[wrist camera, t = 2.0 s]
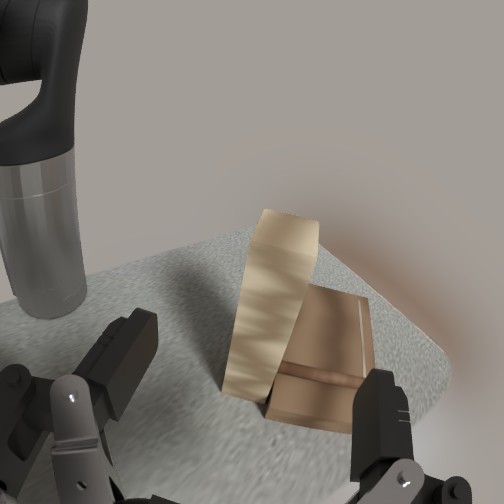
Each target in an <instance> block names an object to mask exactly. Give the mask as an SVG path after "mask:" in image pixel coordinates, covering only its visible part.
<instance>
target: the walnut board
mask: <svg viewBox="0 0 504 504" xmlns="http://www.w3.org/2000/svg"><path fill="white" fill-rule="evenodd" d="M282 360H283V361H287V362H292V363H296V364H300V365H305V366H309V367H314V368H318V369H323V370H328V371H333V372H338V373H343V374H348V375H353V376H359V377H364V378H366V377H367V375H368V374H369V372H370V371H371V369H373V368H375V358H374V348H373V338H372V329H371V320H370V312H369V305H368V298H365V297H361V296H357V295H353V294H349V293H345V292H341V291H337V290H333V289H329V288H325V287H321V286H317V285H313V284H308V287H307V290H306V293H305V296H304V299H303V302H302V305H301V308H300V311H299V313H298V316H297V319H296V322H295V325H294V328H293V330H292V333H291V336H290V339H289V341H288V344H287V347H286V349H285V352H284V355H283V358H282ZM357 390H358V389H353V388H348V387H342V386H337V385H332V384H327V383H322V382H317V381H312V380H307V379H303V378H298V377H294V376H289V375H285V374H281V373H276V376H275V379H274V381H273V384H272V387H271V391H270V396H269V401H268V405H267V410H266V414H265V418H266V419H270V420H275V421H279V422H284V423H289V424H294V425H299V426H304V427H309V428H315V429H320V430H327V431H333V432H339V433H346V434H352V406H353V400H354V396H355V394H356V392H357Z"/></svg>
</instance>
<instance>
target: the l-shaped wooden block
mask: <svg viewBox="0 0 504 504" xmlns="http://www.w3.org/2000/svg"><path fill="white" fill-rule="evenodd" d="M318 236H319V222H318V221H314V220H310V219H306V218H302V217H298V216H294V215H290V214H286V213H282V212H278V211H274V210H270V209H266V208H265V209H264V211H263V213H262V216H261V218H260V220H259V223H258V225H257V227H256V229H255V231H254V234H253V236H252V238H251V240H250V245H249V251H248V256H247V261H246V266H245V271H244V277H243V282H242V287H241V292H240V298H239V303H238V308H237V313H236V319H235V324H234V329H233V334H232V340H231V345H230V350H229V356H228V361H227V366H226V371H225V377H224V382H223V387H222V393H224V394H227V395H231V396H234V397H238V398H242V399H245V400H249V401H253V402H257V403H261V404H265V401H266V399H267V396H268V394H269V391H270V389H271V386H272V384H273V381H274V379H275V376H276V373H281V374H285V375H289V376H294V377H298V378H303V379H307V380H312V381H317V382H322V383H327V384H332V385H337V386H342V387H348V388H353V389H359V387H360V386H361V384H362V383H363V381H364V380H365V378H364V377H359V376H353V375H348V374H343V373H338V372H333V371H328V370H323V369H318V368H314V367H309V366H305V365H300V364H296V363H292V362H287V361H283V360H282V358H283V355H284V352H285V349H286V347H287V344H288V341H289V339H290V336H291V333H292V330H293V328H294V325H295V322H296V319H297V316H298V313H299V311H300V308H301V305H302V302H303V299H304V296H305V293H306V290H307V287H308V284H309V281H310V278H311V275H312V272H313V269H314V266H315V263H316V260H317V255H318Z"/></svg>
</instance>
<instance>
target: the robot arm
mask: <svg viewBox="0 0 504 504" xmlns="http://www.w3.org/2000/svg"><path fill="white" fill-rule="evenodd" d="M87 12H88V0H0V85H7V84H13V83H19V82H26V81H34V80H42V84H41V88H40V92H39V94H38V96H37V97H36V98H35V100H34V101H33V102H32V103H31V104H29V105H28V106H27V107H26V108H24V109H23V110H22V111H20V112H19V113H17V114H15V115H14V116H12V117H10V118H8V119H6V120H4V121H2V122H1V123H0V250H1V254H2V257H3V261H4V265H5V269H6V272H7V275H8V279H9V282H10V285H11V288H12V291H13V295H15V296H16V297H17V298H18V301H19V304H20V306H21V308H22V310H24V311H25V312H26V313H27V314H29V315H30V316H33V317H36V318H42V319H50V318H56V317H60V316H63V315H65V314H68V313H70V312H71V311H73V310H74V309H76V308H77V307H78V306H79V305H80V304H81V303H82V301H83V300H84V298H85V296H86V294H87V284H86V278H85V271H84V265H83V257H82V249H81V241H80V232H79V222H78V211H77V199H76V182H75V157H74V113H75V93H76V81H77V74H78V66H79V60H80V54H81V49H82V43H83V38H84V33H85V27H86V21H87ZM157 348H158V321H157V314H156V313H153V312H150V311H147V310H144V309H141V308H136V309H135V310H134V311H133V312H132V314H131V315H130V316H129V318H128V319H127V318H124V317H120V318H118V319H116V320H115V321H113V322H112V323H110V324H109V325H108V327H107V328H106V329H105V331H104V332H103V333H102V335H101V336H100V337H99V338H98V340H97V342H96V343H95V344H94V345H93V346H92V348H91V349H90V351H89V352H88V353H87V355H86V356H85V357H84V359H83V360H82V361H81V363H80V364H79V366H78V367H77V368H76V370H75V371H74V372H73V373H72V374H69V375H63V376H61V377H59V378H57V379H56V380H50V379H44V378H39V377H34V376H31V374H30V372H29V370H28V369H27V368H26V367H25V366H23V365H20V364H12V365H9V366H7V367H5V368H4V369H3V370H2V371H1V372H0V504H19V503H18V502H17V500H16V498H17V496H18V494H19V492H20V490H21V487H22V485H23V483H24V481H25V479H26V477H27V475H28V473H29V471H30V469H31V467H32V465H33V463H34V461H35V459H36V457H37V455H38V453H39V451H40V450H41V448H42V446H43V444H44V442H45V440H46V438H47V436H48V435H49V433H50V432H52V433H54V439H55V446H53V447H52V450H51V455H52V462H53V468H54V474H55V479H56V484H57V489H58V494H59V498H60V503H61V504H179V503H176V502H173V501H170V500H167V499H164V498H161V497H159V496H156V495H153V494H152V497H151V499H146V498H133V499H126V496H125V493H124V490H123V487H122V484H121V482H120V479H119V477H118V474H117V472H116V469H115V465H114V462H113V458H112V454H111V450H110V446H109V442H108V438H107V434H106V430H105V424H106V423H107V421H108V419H109V418H110V419H113V420H115V421H117V422H118V421H119V419H120V417H121V416H122V414H123V412H124V410H125V408H126V406H127V405H128V403H129V401H130V399H131V397H132V395H133V394H134V392H135V390H136V388H137V386H138V385H139V383H140V381H141V379H142V377H143V376H144V374H145V372H146V370H147V369H148V367H149V365H150V363H151V361H152V360H153V358H154V356H155V354H156V351H157ZM408 411H409V408H408V400H407V397H406V395H405V393H404V391H403V390H402V388H401V387H398V386H395V382H394V375H393V372H392V371H387V370H381V369H375V368H373V369H371V371H370V372H369V374H368V375H367V377H366V378H365V380H364V381H363V383H362V384H361V386H360V387H359V389H358V390H357V392H356V394H355V396H354V400H353V406H352V452H351V473H350V482H360V489H359V490H358V491H357V492H356V493H355V494H354V495H353V496H352V497H351V498H350V499H349V500H348V501H347V502H346V503H345V504H472V492H471V487H470V485H469V483H468V482H467V481H466V480H465V479H464V478H462V477H459V476H454V477H451V478H449V479H448V480H446V481H442V480H439V479H436V478H433V477H430V476H428V475H426V474H424V472H423V470H422V468H421V466H420V465H419V464H418V463H417V462H415V461H414V456H413V445H412V434H411V424H410V423H409V422H410V416H409V413H408Z"/></svg>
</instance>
